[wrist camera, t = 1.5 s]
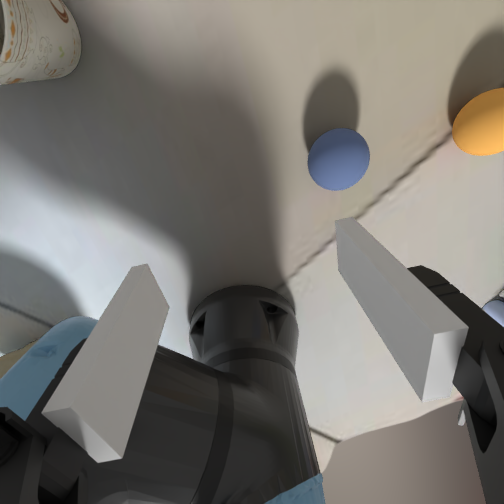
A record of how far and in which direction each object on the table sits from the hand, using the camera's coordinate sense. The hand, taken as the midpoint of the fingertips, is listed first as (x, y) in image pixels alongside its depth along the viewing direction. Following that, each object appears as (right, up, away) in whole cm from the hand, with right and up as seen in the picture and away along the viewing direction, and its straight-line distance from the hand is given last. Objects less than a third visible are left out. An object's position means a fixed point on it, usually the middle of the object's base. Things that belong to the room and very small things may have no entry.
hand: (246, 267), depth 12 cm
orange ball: (+22, +12, +11) cm, 28 cm away
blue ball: (+8, +9, +12) cm, 17 cm away
